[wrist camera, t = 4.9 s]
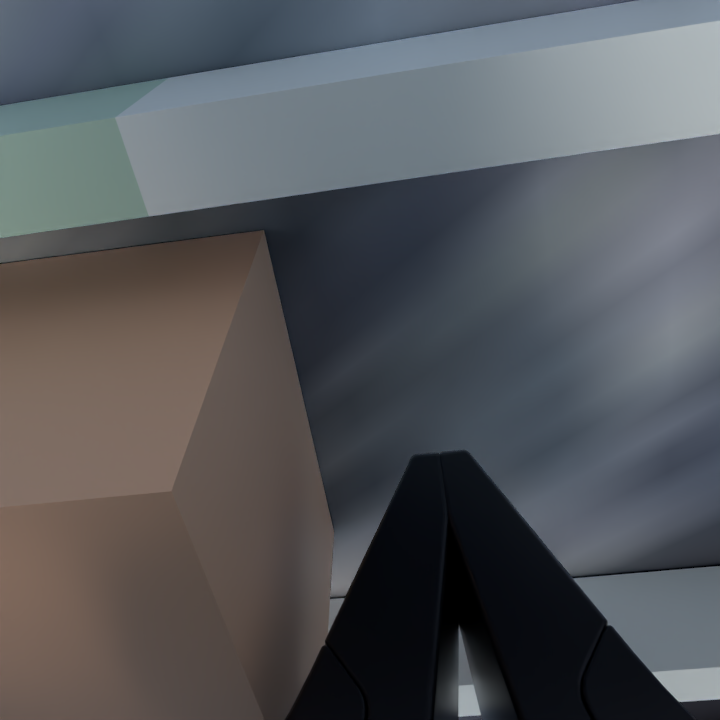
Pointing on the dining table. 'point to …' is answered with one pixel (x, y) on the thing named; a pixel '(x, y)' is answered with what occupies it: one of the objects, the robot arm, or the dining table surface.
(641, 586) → the trap lane
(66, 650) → the block
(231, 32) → the dining table surface
